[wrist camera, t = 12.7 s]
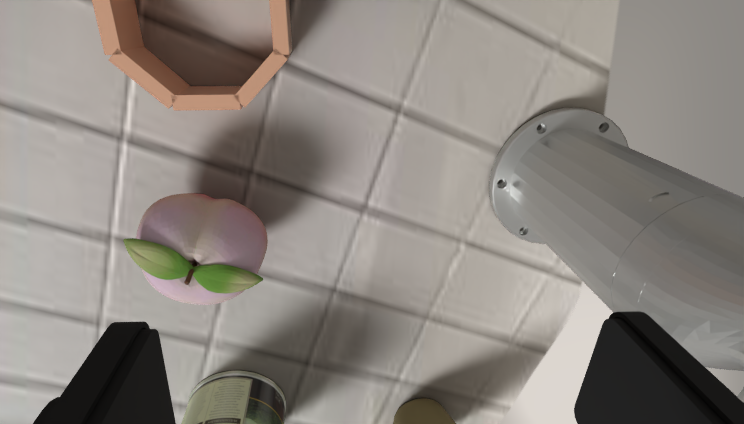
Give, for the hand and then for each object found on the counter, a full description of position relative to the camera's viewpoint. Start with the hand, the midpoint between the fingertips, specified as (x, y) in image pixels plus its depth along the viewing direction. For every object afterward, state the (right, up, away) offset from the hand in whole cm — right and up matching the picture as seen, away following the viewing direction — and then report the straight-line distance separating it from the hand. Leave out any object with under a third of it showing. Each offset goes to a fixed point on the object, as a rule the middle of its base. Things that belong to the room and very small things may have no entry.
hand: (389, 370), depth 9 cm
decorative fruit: (-14, +3, +28) cm, 31 cm away
